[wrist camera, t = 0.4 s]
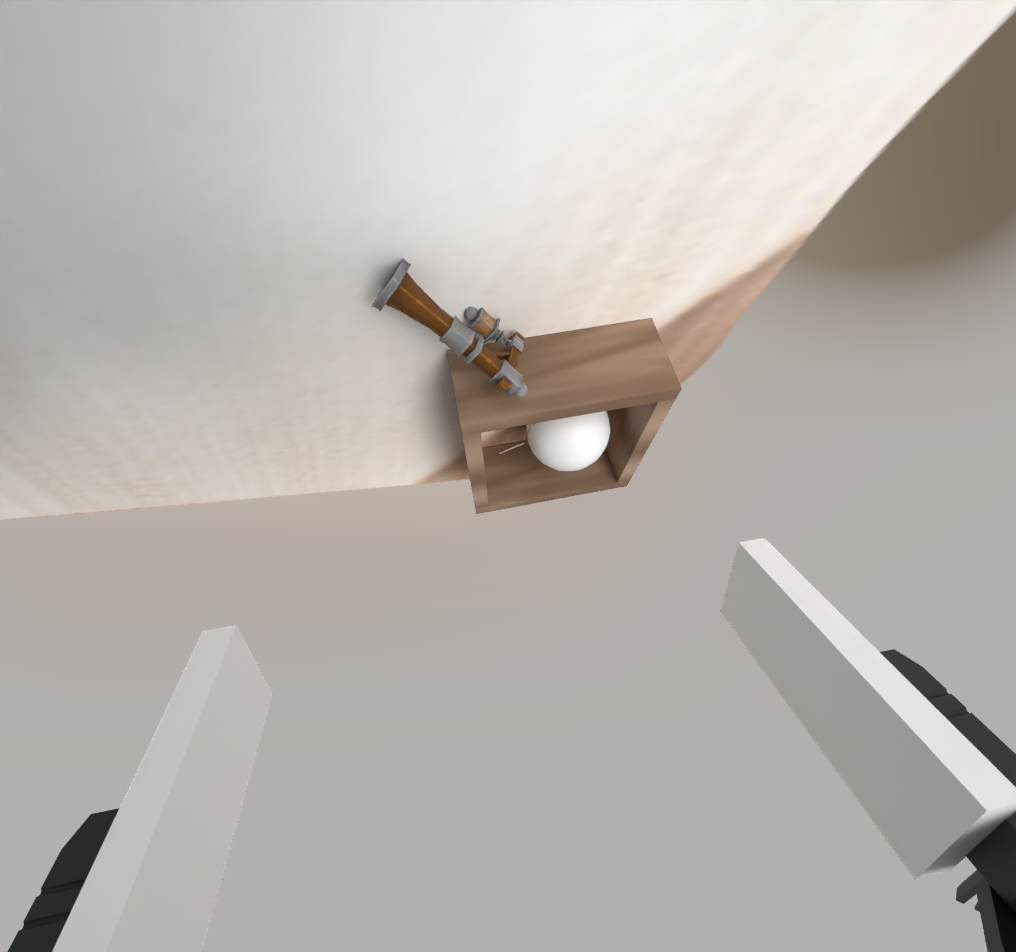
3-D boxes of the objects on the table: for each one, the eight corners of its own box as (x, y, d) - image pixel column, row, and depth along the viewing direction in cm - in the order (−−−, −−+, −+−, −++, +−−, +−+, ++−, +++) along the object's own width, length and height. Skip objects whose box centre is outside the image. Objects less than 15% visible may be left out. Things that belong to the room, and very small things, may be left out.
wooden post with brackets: (520, 360, 27) (511, 414, 24) (398, 260, 24) (369, 309, 20) (543, 340, 26) (536, 394, 23) (418, 232, 22) (390, 279, 19)
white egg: (600, 361, 30) (626, 436, 28) (594, 408, 35) (615, 474, 33) (483, 386, 30) (500, 464, 28) (494, 430, 35) (509, 498, 33)
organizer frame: (446, 350, 26) (460, 426, 24) (651, 318, 27) (681, 388, 25) (466, 457, 38) (476, 513, 36) (608, 431, 39) (626, 486, 37)
